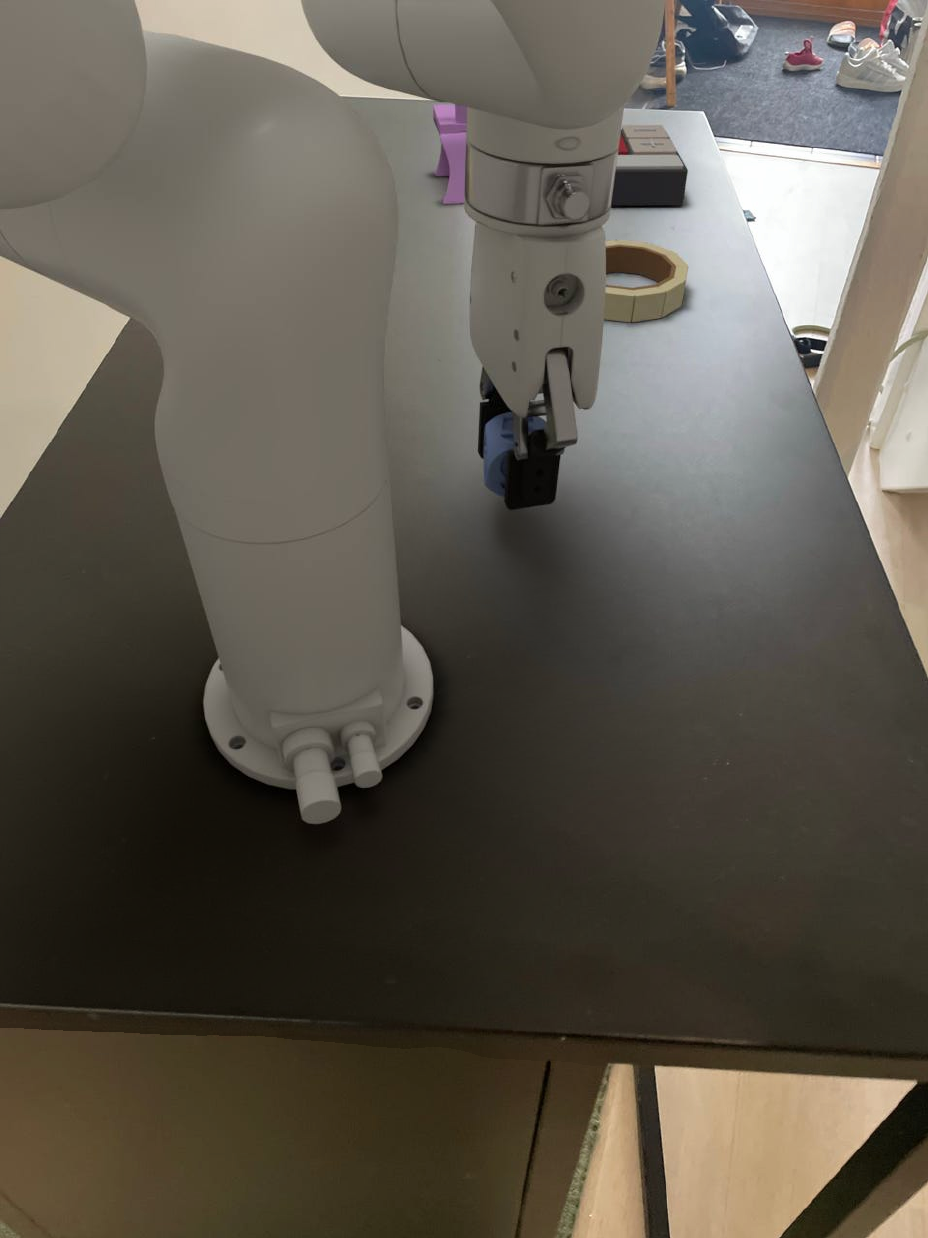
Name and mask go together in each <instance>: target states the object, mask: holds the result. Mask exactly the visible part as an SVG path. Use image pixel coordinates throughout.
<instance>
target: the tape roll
mask: <svg viewBox="0 0 928 1238" xmlns="http://www.w3.org/2000/svg"><path fill="white" fill-rule="evenodd" d="M605 245H606V274H611V273H623V274H633V275H640V276H643V277H645V278H647V279H649V280H652V281H655V282H657V283H656V284H651V285H643V286H636V287H630V286H629V287H628V286H619V285H611V284H607V283H606V293H605V312H604V321H614V322H623V323H638V322H643V321H651V320H658V319H662V318H665V317H666V316H668V315H670V314H671V313H673V312H675V311H676V310H678V309H679V308H681V307H682V305H683V299H684V295H685V290H686V289H685V288H686V283H687V278H688V271H689V265H688V263H686V261H684V260H683V258H681V257H680V256H679V254H678V253H676V252H674V251H672V250H669V249H667V248H665V247H661V246H658V245H656V244H653V243H649V242H645V241H637V240H636V241H634V240H627V239H626V240H625V239H611V240H605Z"/></svg>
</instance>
